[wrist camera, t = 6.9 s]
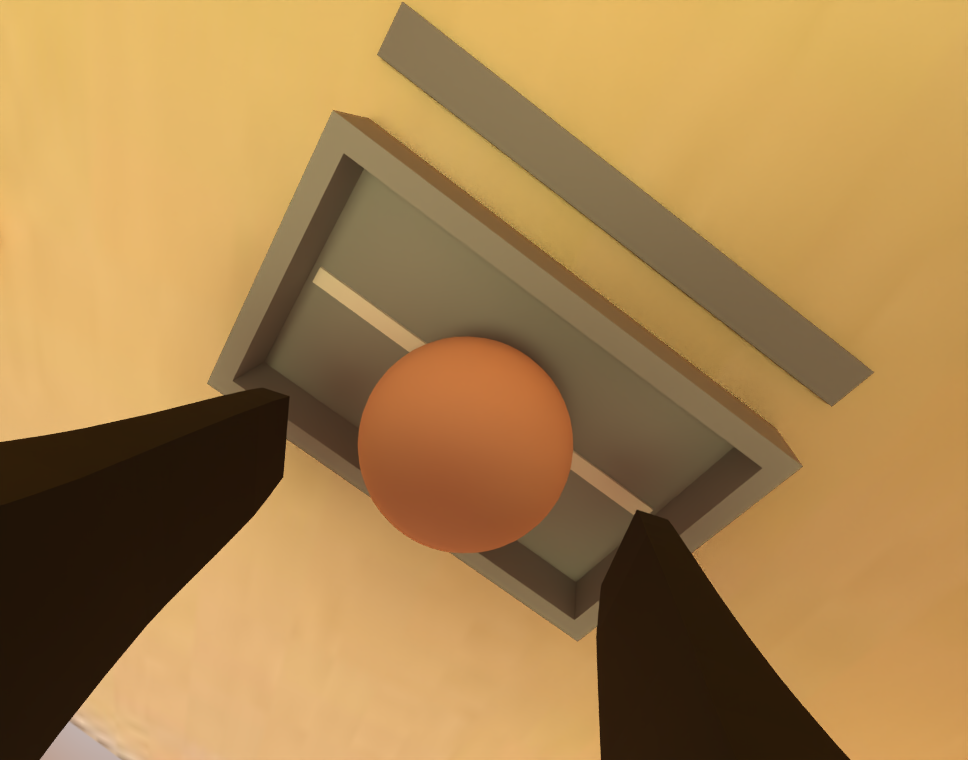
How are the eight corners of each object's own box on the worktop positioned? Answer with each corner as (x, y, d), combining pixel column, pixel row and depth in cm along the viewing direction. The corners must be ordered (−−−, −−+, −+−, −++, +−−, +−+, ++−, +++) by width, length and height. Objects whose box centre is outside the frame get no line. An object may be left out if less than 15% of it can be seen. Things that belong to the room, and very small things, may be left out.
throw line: (870, 369, 12) (873, 372, 12) (828, 403, 13) (831, 406, 13) (405, 4, 11) (402, 1, 11) (380, 56, 12) (377, 55, 12)
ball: (600, 342, 13) (609, 437, 8) (545, 493, 15) (528, 635, 11) (417, 289, 13) (330, 352, 9) (388, 444, 15) (306, 560, 11)
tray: (776, 428, 13) (802, 466, 12) (579, 593, 17) (577, 641, 15) (368, 118, 12) (332, 110, 11) (248, 360, 16) (207, 383, 14)
